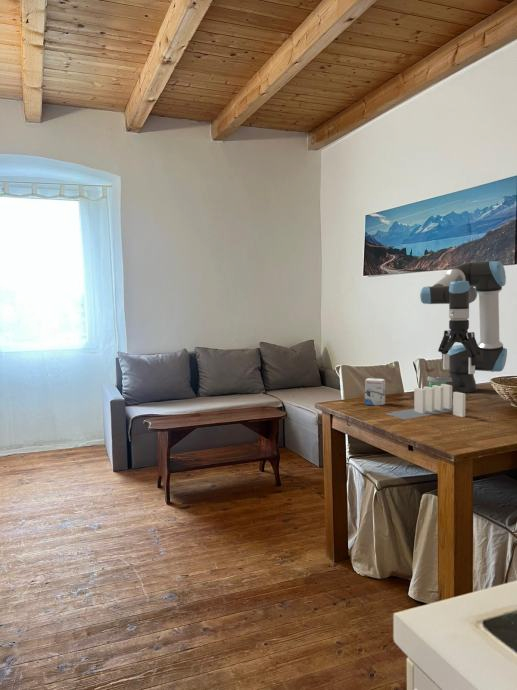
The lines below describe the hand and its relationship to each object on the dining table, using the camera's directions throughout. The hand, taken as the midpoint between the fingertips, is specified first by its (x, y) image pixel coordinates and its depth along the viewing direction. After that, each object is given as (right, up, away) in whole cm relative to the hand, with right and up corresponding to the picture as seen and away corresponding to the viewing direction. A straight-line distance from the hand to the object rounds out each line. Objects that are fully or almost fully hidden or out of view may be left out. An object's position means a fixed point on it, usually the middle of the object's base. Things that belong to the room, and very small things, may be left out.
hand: (458, 371), depth 213 cm
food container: (+5, -15, +40) cm, 43 cm away
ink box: (-28, -17, +29) cm, 44 cm away
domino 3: (-4, -17, +14) cm, 22 cm away
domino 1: (-13, -18, +10) cm, 24 cm away
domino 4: (+1, -17, +16) cm, 23 cm away
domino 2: (-8, -17, +12) cm, 23 cm away
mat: (-10, -18, +11) cm, 23 cm away
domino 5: (+1, -19, +2) cm, 19 cm away
